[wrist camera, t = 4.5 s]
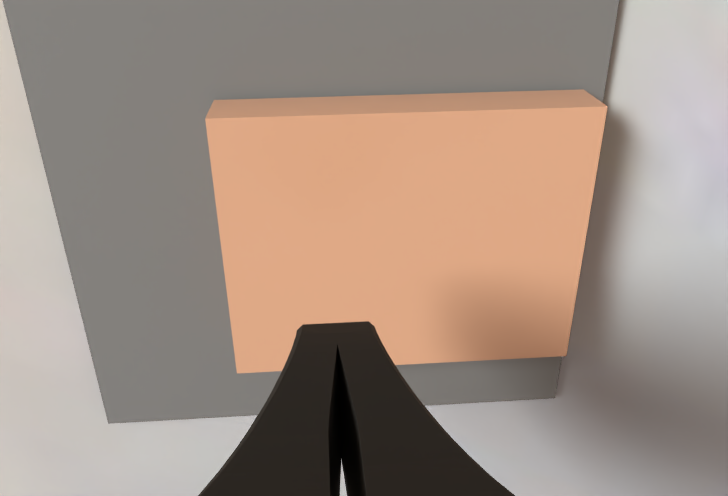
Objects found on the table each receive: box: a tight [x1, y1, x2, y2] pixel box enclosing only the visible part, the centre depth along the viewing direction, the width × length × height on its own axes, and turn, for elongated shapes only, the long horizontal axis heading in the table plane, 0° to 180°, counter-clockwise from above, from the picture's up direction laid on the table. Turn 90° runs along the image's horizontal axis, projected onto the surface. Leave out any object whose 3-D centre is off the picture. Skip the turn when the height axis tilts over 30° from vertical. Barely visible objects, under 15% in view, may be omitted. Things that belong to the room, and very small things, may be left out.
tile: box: [205, 89, 608, 373], centre depth 17 cm, size 7×2×9 cm
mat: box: [3, 0, 619, 423], centre depth 18 cm, size 13×14×1 cm
